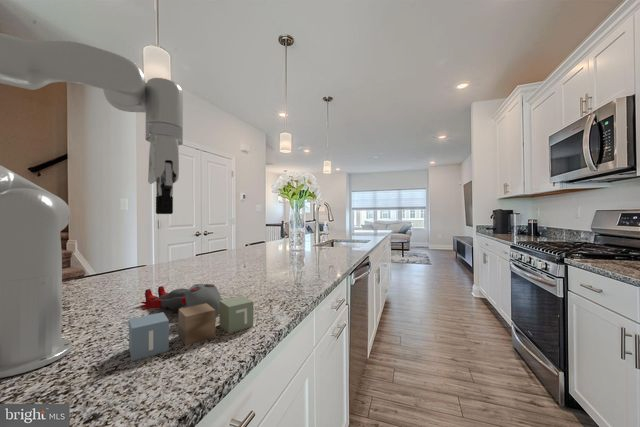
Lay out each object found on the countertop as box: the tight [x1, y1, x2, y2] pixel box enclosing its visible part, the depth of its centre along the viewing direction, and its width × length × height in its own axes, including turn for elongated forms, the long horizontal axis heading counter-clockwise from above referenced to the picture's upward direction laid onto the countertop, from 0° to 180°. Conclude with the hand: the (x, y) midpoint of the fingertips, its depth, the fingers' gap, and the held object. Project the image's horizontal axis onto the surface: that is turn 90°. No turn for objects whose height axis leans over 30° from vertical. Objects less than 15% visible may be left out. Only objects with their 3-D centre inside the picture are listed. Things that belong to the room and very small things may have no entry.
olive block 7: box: [218, 295, 254, 334], centre depth 64 cm, size 6×6×6 cm
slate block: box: [128, 311, 170, 361], centre depth 53 cm, size 6×6×6 cm
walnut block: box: [178, 303, 216, 346], centre depth 59 cm, size 6×6×6 cm
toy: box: [140, 283, 222, 319], centre depth 74 cm, size 16×10×30 cm
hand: (164, 213), depth 62 cm, fingers closed
